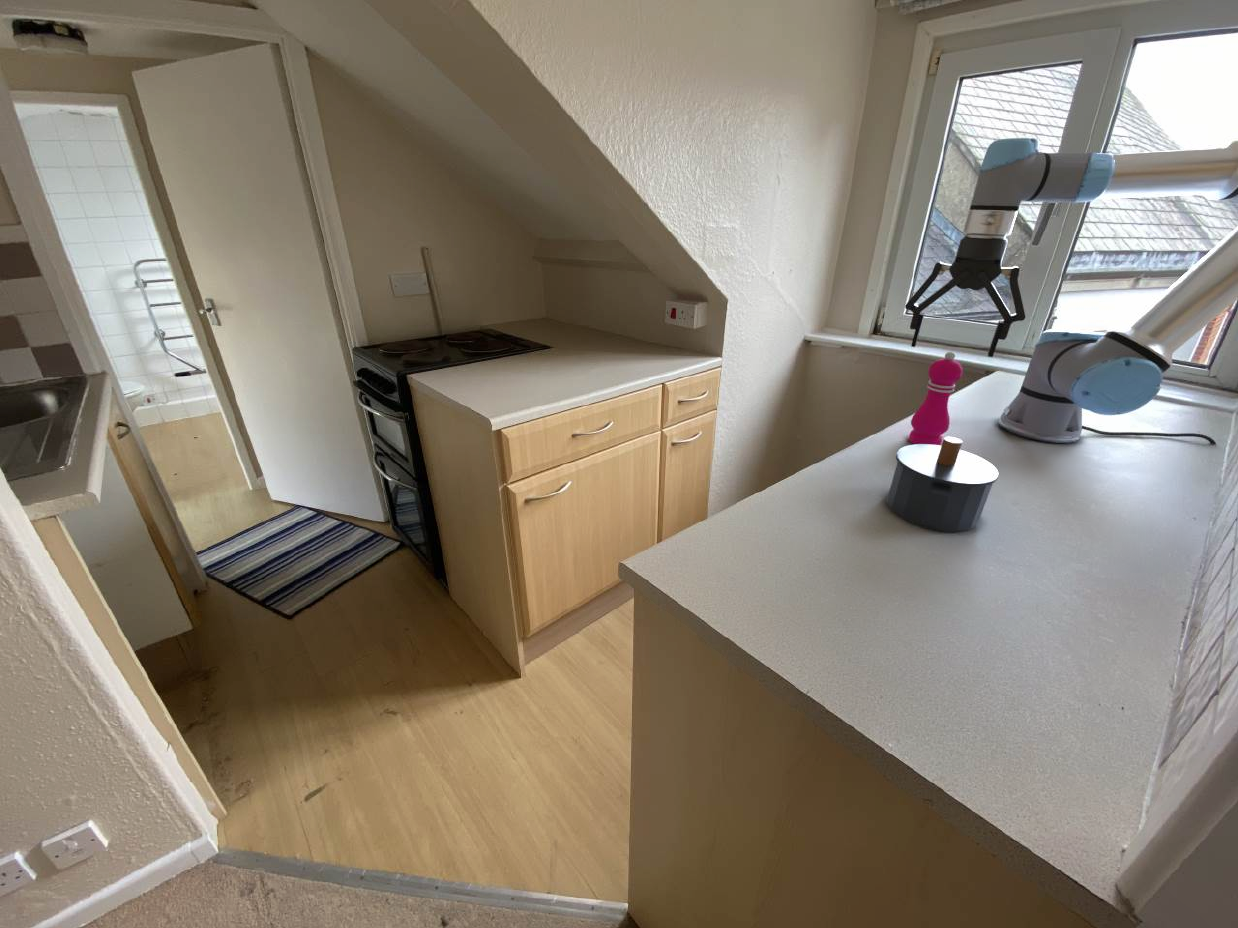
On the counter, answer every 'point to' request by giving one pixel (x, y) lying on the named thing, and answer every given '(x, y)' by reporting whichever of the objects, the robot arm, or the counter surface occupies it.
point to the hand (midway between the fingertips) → (950, 350)
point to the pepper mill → (936, 402)
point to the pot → (935, 502)
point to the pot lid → (947, 464)
